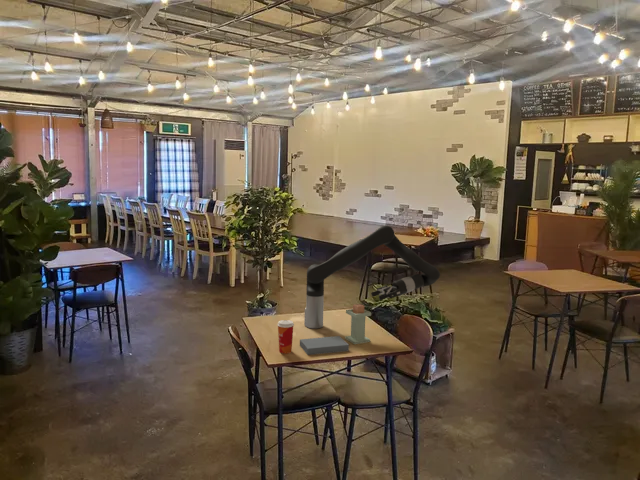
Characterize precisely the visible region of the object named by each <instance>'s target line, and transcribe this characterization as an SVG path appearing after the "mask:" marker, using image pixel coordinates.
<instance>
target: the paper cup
mask: <svg viewBox="0 0 640 480" xmlns="http://www.w3.org/2000/svg"><path fill="white" fill-rule="evenodd" d="M294 326H295V324H294V322H293V320H289V319H287V320H286V319H284V320H283V319H281V320H279V321H278V322H277V331H278V335H277V337H278V352H279V353H280V354H285V355H286V354H291V353H292V350H293V349H292V347H293V336H294Z"/></svg>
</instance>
